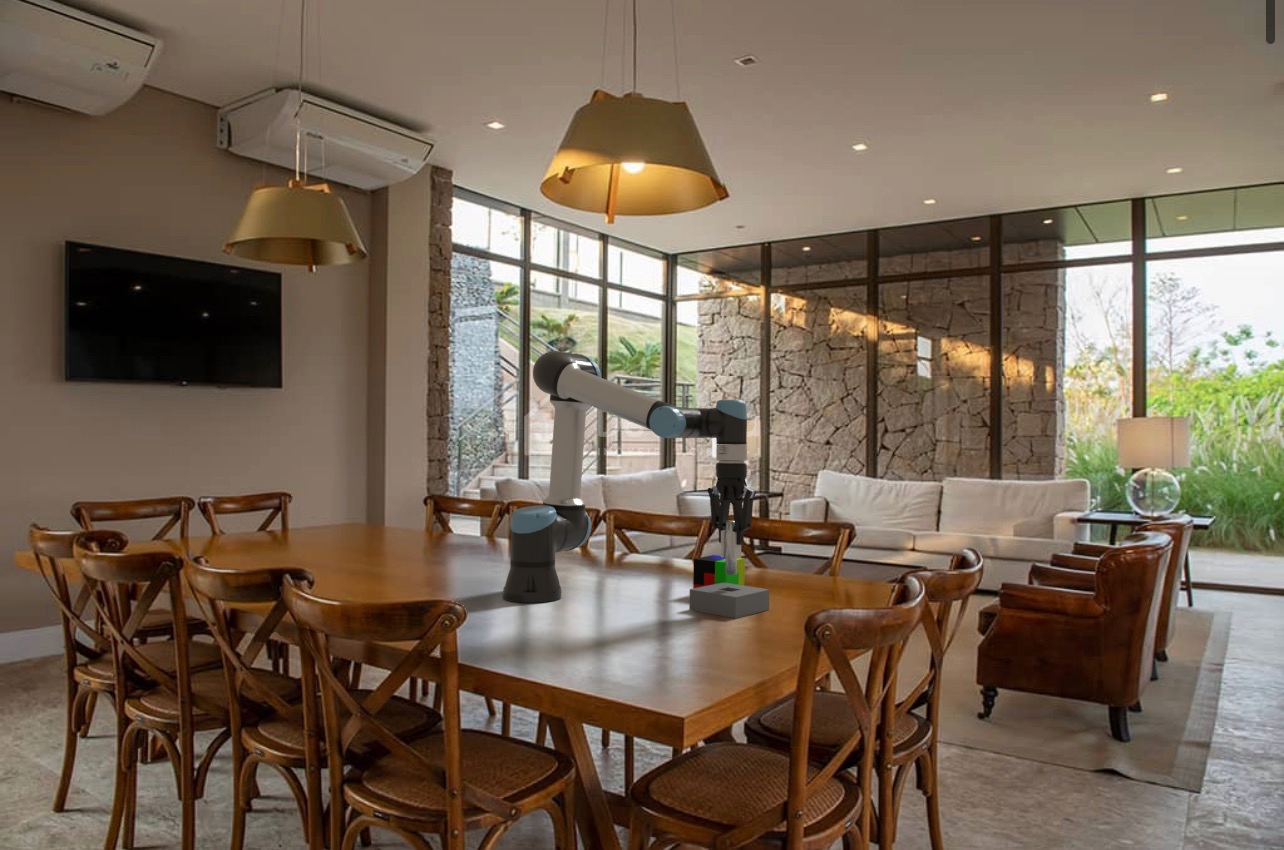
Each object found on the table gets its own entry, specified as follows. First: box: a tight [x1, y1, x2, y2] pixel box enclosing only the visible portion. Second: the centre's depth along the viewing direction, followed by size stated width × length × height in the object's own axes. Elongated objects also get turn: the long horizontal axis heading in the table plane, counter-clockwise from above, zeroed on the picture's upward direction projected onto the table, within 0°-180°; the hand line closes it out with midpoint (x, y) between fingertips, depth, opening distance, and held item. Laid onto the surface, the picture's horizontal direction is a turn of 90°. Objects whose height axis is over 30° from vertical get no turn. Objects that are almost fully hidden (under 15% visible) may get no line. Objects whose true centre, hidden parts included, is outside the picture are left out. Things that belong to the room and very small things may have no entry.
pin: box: [725, 520, 737, 575], centre depth 214 cm, size 3×3×13 cm
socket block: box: [689, 583, 770, 619], centre depth 214 cm, size 14×14×5 cm
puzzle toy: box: [692, 554, 746, 589], centre depth 232 cm, size 10×10×10 cm
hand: (731, 557), depth 214 cm, fingers closed on pin, 3 cm apart
